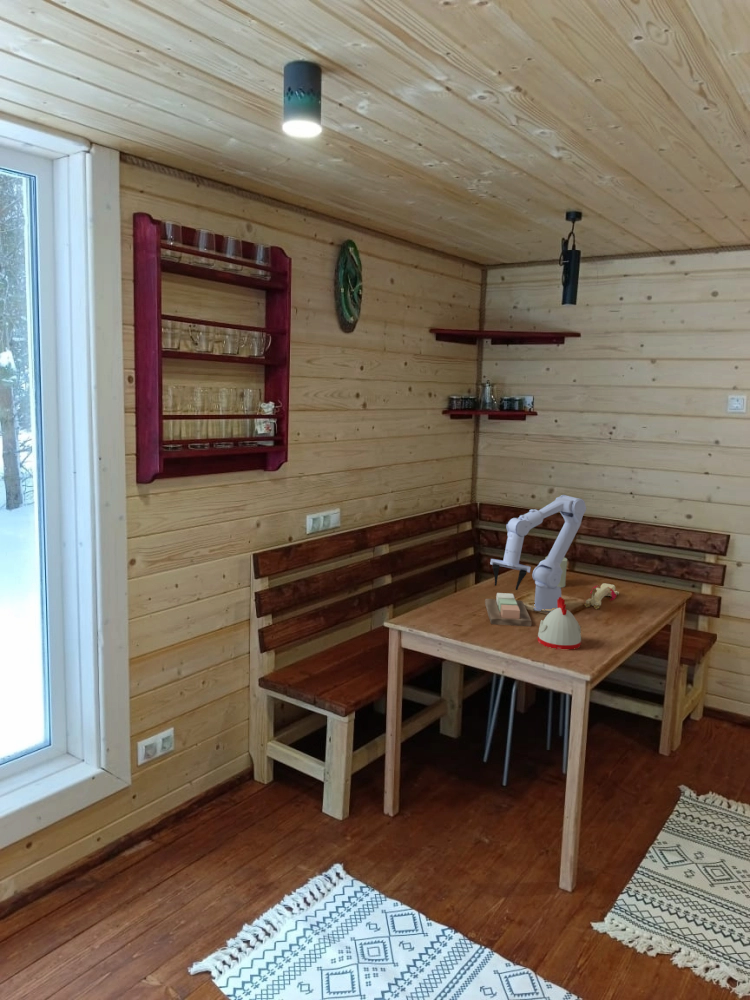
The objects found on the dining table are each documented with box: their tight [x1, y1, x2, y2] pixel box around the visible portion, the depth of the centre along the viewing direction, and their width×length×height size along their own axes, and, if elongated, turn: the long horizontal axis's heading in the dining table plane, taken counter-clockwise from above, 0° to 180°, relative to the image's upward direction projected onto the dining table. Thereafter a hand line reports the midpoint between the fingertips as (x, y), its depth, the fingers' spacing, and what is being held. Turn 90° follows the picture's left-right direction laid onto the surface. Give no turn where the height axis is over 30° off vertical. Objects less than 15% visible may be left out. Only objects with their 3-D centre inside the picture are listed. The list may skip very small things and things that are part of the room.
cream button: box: [495, 592, 516, 605], centre depth 283 cm, size 6×6×4 cm
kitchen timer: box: [537, 596, 582, 650], centre depth 248 cm, size 14×14×15 cm
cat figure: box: [583, 582, 620, 610], centre depth 298 cm, size 10×9×25 cm
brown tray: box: [484, 598, 532, 627], centre depth 276 cm, size 14×24×2 cm, turn 177°
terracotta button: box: [500, 605, 520, 619], centre depth 268 cm, size 6×6×4 cm
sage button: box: [498, 599, 517, 612], centre depth 276 cm, size 6×6×4 cm
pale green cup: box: [544, 555, 568, 589], centre depth 318 cm, size 9×9×12 cm
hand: (505, 587), depth 275 cm, fingers open, 7 cm apart
